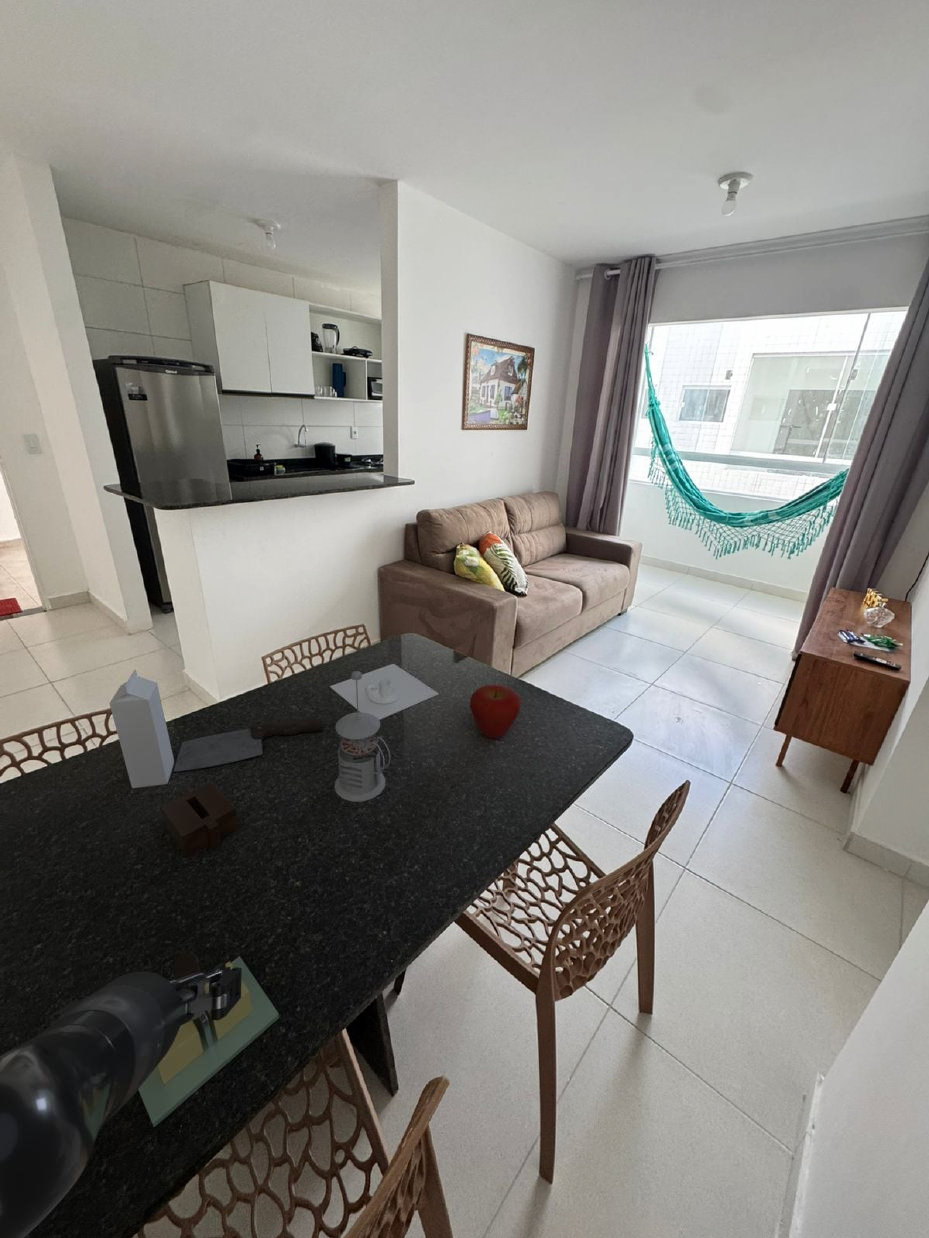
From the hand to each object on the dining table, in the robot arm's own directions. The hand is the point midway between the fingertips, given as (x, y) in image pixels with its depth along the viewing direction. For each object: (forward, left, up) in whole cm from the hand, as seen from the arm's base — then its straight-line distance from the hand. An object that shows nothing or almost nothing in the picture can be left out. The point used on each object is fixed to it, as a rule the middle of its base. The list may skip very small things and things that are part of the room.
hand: (176, 982), depth 52 cm
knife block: (+15, +33, -14) cm, 39 cm away
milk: (+14, +52, -14) cm, 56 cm away
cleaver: (+32, +48, -14) cm, 59 cm away
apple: (+72, +15, -14) cm, 75 cm away
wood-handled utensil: (+2, +2, -13) cm, 13 cm away
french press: (+41, +22, -14) cm, 48 cm away
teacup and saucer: (+66, +46, -14) cm, 81 cm away
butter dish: (+2, +2, -14) cm, 14 cm away
